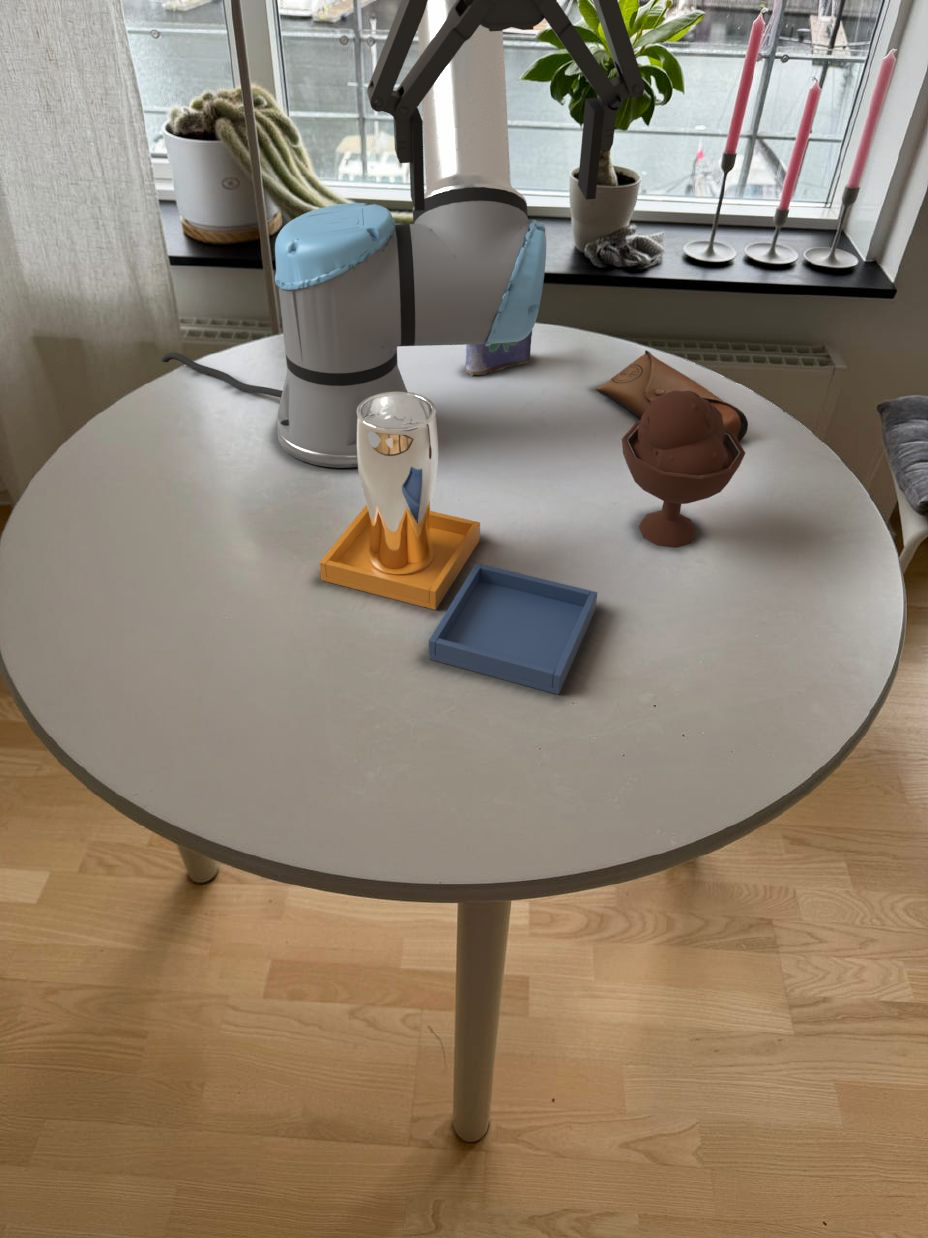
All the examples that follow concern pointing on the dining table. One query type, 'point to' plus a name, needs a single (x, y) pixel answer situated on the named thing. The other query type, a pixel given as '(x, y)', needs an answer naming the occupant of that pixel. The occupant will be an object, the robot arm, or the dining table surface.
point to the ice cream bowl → (679, 461)
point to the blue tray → (514, 627)
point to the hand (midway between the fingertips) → (502, 198)
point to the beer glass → (398, 477)
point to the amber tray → (418, 588)
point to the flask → (497, 356)
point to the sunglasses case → (664, 391)
